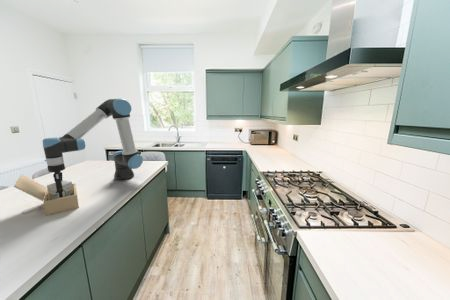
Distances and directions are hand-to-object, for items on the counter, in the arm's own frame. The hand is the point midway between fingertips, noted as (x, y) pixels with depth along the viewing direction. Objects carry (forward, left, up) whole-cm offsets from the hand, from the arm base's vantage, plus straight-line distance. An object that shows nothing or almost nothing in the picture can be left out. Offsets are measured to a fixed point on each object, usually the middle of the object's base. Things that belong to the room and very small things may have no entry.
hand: (62, 198), depth 116 cm
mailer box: (0, 0, -4) cm, 4 cm away
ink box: (0, 0, -2) cm, 2 cm away
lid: (+11, 0, +11) cm, 16 cm away
